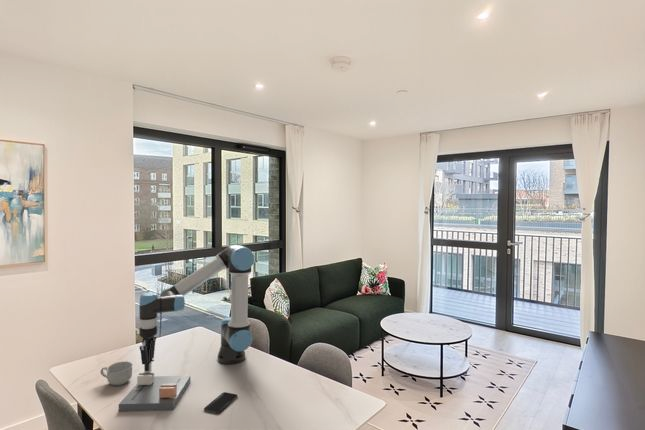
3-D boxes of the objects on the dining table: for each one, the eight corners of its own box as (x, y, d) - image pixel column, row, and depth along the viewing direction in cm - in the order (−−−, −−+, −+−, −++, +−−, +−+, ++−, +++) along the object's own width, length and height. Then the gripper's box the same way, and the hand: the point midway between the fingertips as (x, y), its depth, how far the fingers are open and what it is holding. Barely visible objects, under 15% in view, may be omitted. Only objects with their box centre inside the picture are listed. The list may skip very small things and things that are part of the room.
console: (190, 381, 172) (190, 375, 172) (173, 409, 149) (173, 402, 148) (143, 382, 171) (143, 376, 171) (118, 411, 147) (118, 403, 147)
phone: (202, 409, 148) (223, 391, 162) (202, 412, 148) (223, 394, 162) (218, 413, 146) (238, 394, 160) (218, 415, 146) (238, 397, 160)
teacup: (137, 377, 176) (137, 361, 175) (122, 389, 165) (122, 372, 165) (110, 376, 177) (110, 360, 177) (94, 387, 166) (94, 370, 166)
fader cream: (154, 380, 166) (154, 371, 166) (150, 384, 162) (151, 375, 162) (140, 380, 166) (141, 371, 166) (137, 385, 162) (137, 375, 162)
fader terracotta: (176, 392, 156) (176, 382, 156) (173, 397, 152) (173, 387, 152) (162, 392, 155) (162, 382, 155) (159, 397, 151) (159, 387, 151)
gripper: (146, 322, 172) (145, 370, 173) (133, 331, 159) (133, 383, 160) (161, 322, 173) (161, 370, 173) (150, 331, 160) (150, 383, 160)
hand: (147, 376), depth 167 cm, fingers closed
